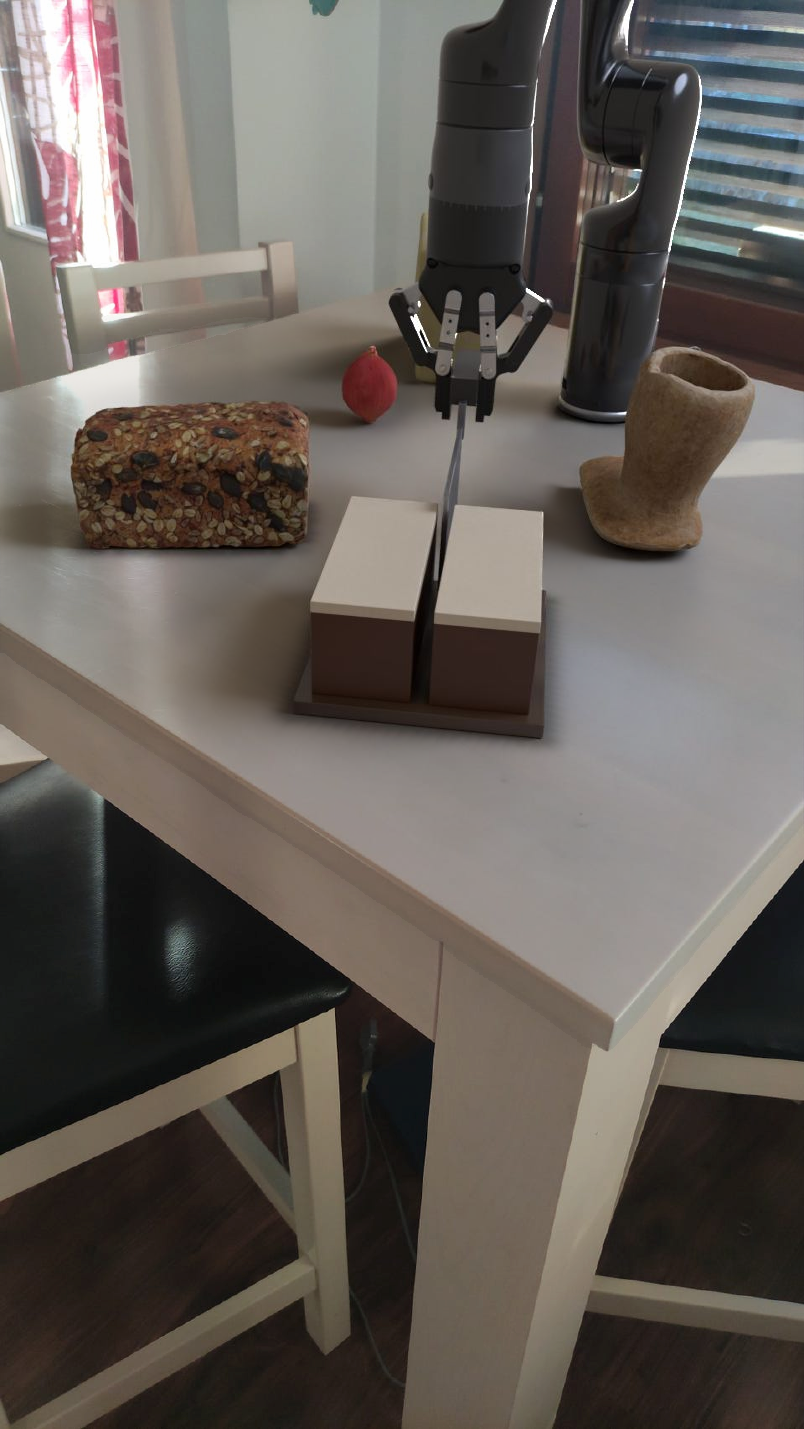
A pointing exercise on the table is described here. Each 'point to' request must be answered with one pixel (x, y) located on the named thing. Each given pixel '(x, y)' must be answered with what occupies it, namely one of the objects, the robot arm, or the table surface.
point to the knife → (458, 436)
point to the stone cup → (667, 450)
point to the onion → (369, 386)
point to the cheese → (430, 321)
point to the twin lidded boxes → (430, 620)
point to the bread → (193, 475)
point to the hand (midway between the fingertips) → (462, 417)
